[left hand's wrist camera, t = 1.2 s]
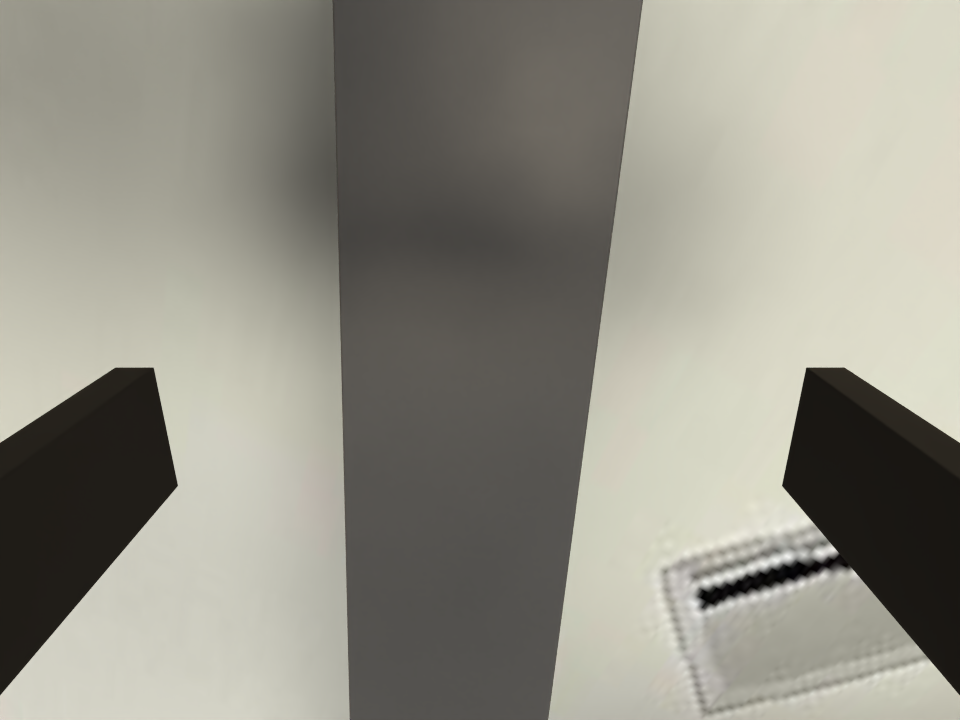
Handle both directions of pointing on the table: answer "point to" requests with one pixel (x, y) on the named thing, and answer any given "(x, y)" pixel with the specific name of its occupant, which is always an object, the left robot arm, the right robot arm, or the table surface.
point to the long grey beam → (469, 333)
